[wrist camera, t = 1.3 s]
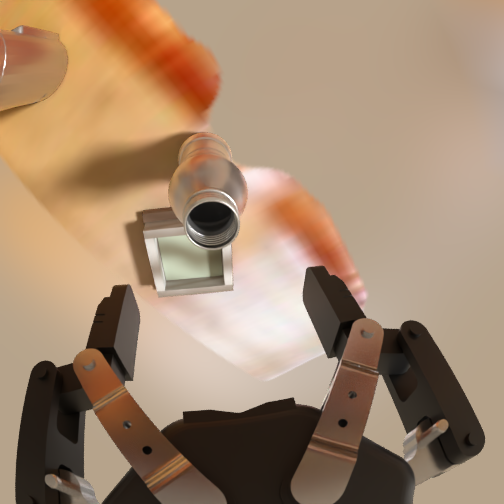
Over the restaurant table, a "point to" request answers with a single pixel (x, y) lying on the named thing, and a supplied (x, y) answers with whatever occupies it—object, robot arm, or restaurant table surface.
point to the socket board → (183, 258)
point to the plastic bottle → (208, 192)
